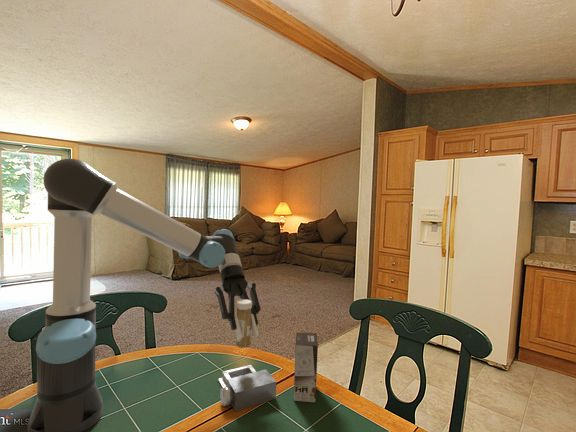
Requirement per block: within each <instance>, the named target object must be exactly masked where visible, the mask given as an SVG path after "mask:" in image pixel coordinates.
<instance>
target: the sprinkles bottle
mask: <svg viewBox="0 0 576 432" xmlns="http://www.w3.org/2000/svg"><path fill="white" fill-rule="evenodd" d="M252 305H253V304H252V300H247V299H239V300H237V301H236V316H237V317H238V321H239V325H240V329H241V334H242V339H241V340H240V341H239V342H237V337H236V336H235V337H236V339H235V340H236V341H235V346H236V347H238V348H240V349H245V348H248V347H250V346H251V343H252V341H251V334H252V330H251V308H252Z"/></svg>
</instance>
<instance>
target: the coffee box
mask: <svg viewBox="0 0 576 432" xmlns="http://www.w3.org/2000/svg"><path fill="white" fill-rule="evenodd" d="M294 346H295V349H294V375H293V376H294V377H293V378H294V379H293V401H295V402H307V403H315V402H316V396H317V395H316V394H317V375H318V353H319V351H318V349H319V341H318V335H317V333H316V332H298V331H297V332H296V335H295V345H294Z"/></svg>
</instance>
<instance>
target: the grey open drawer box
mask: <svg viewBox="0 0 576 432" xmlns="http://www.w3.org/2000/svg"><path fill="white" fill-rule="evenodd" d="M221 372H222V373H221V377H220V378H218V379H217V381H218V383H219V385H220V387H221V388H220V391H219V396H220V402H221V405H222V407H226V406H230V405H231V406H232V408H233V411H234V412H237V411H241V410H244V409H247V408H250V407H253V406H257V405H260V404H263V403H266V402H270V401H273V400H276V399H277V380H276V379H275V378H274V377H273V376H272V374H271V373H270V372H269V371H268V370H267V369H262V370H259V371H256V369H255V368H254V367H253V366H252V364H248V365H244V366H240V367H236V368H232V369H228V370H224V371H221Z"/></svg>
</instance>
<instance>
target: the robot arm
mask: <svg viewBox="0 0 576 432" xmlns="http://www.w3.org/2000/svg"><path fill="white" fill-rule="evenodd" d="M43 186H44V189H45V190H46V193H47V211H48V212H49V213H50V214H51V215H52V216H53V217H54V221H53V222H54V225H53V227H54V228H53V229H54V230H53V231H54V232H53V233H54V234H53V270H52V271H53V272H52V273H53V275H52V276H53V277H52V278H53V279H52V283H53V284H52V303H51V305H50V306H48V308H46V310H45V318H44V319H45V322H44V323H45V326H44V328H43V329H42V330H41V331H40V333H39V334H38V336H37V339H36V345H35V352H36V390H37V393H36V395H37V398H36V400H35V402H34V406H33V408H32V411H31V412H30V416H29V419H28V422H27V432H86V431H87V430H89V429H90V428H92V427H93V426H94V425H95V424H97V423H98V421H100V419H101V417H102V416H103V414H104V401H103V397H102V395H101V392H100V391H99V388H98V386H97V383H96V340H97V332H96V329H97V322H96V318H97V317H96V316H97V315H96V314H97V304H96V302H95V301H93V300H91V272H92V271H91V269H92V267H91V265H92V230H93V229H92V227H93V216H94V215H98V214H99V215H100V214H101V215H102V216H105V217H107V218H108V219H110V220H113V221H115V222H117V223H118V224H121V225H123V226H124V227H125V226H126V227H128V228H129V229H131V230H134V231H136V232H138V233H139V234H141V235H143V236H145V237H147V238H149V239H152V240H154V241H156V242H157V243H160V244H162V245H163V246H165V247H168V248H169V249H172V250H174V251H176V252H178V256H179V257H180V258H181V259H187V260H190V259H191V260H194V261H196V262H197V263H200V264H201V265H202V266H204V267H206V268H210V269H211V268H217V267H218V270H219V275H220V279H221V283H222V284H221V286H216V287H215V290H214V294H215V296H216V297H217V300H218V305H219V308H220V309H219V310H220V313H221V318H222V319H223V320H228V322H229V324H230V327H231V328H230V329H231V330H232V331H234V332H235V337H237V342H239V341H240V340H241V339H242V334H241V329H240V325H239V321H238V317H237V315H236V316H235V297H239V299H240V300H242V299H247V300H250V299H251V300H250V301H252V308H251V334H252V337H253V339H257V337H258V336H259V331H258V327H257V326H258V324H259V320H258V318H257V315H258V314H259V313H260V311H261V310H262V308H261V305H260V302H259V298H258V295H257V294H258V293H257V291H256V287H257V286H256V285H257V284H256V283H255V282H253V283H249V282H248V281H247V279H246V276H245V273H244V270H243V265H242V261H241V257H240V255H239V252H238V251H239V250H238V248H237V245H236V239H235V237H234V235H233V232H232V231H231V230H229V229H226V228H222V229H220V230H219V229H217V230H216V231H215V232H213V233H212V235H211V236H209V235H203V234H201V233H199V231H196V230H194V229H192V228H191V227H189V226H187V225H185V224H184V223H181V222H180V221H178V220H176V219H174V218H173V217H170V216H169V215H167V214H166V213H163V212H162V211H160V210H158V209H157V208H155V207H152V206H151V205H149V204H147V203H145V202H143V201H142V200H139V199H137V198H136V197H134V196H133V195H132V194H131V195H130V194H129V193H127V192H125V191H124V190H121V189H120V188H118V187H117V184H116V181H113V180H111V179H110V178H108V177H107V176H105V175H103V174H102V173H100V172H99V171H98V170H96V169H95V168H94V167H92V166H91V165H90V164H88V163H87V162H85V161H84V160H80V159H77V158H62V159H60V160H57V161H54V162H53V163H51V164H50V165H49V166H48V167H47V168H46V170H45V172H44V175H43ZM247 289H248V291H247ZM224 292H225V293H226V294H227V295H228V297H227V299H228V307H227V302H226V299H225V295H224ZM248 292H249V295H250V297H249V296H248Z"/></svg>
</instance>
